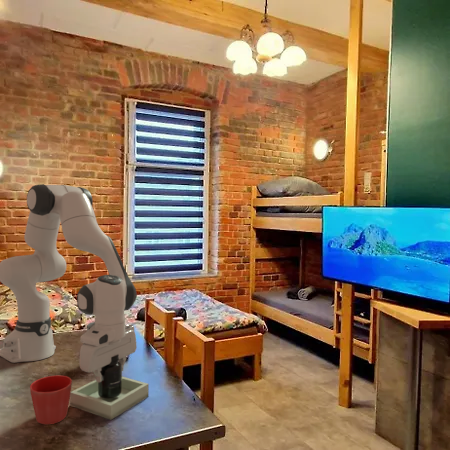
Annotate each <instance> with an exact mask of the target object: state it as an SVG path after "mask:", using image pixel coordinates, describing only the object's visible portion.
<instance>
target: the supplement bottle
mask: <svg viewBox="0 0 450 450" xmlns="http://www.w3.org/2000/svg"><path fill="white" fill-rule="evenodd" d="M100 373H101V375H104V380H103V381H102V382H98V395H99V396H100V397H102V398H107V399H108V398H115V397H117V396H119V395H120V394H121V391H122V377H123V371H122V365H121V363H120V362H119V355H115V356H113V357H111V362H110V364H108V365H106V366H104V367H102V368H101V371H100Z"/></svg>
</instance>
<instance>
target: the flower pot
mask: <svg viewBox="0 0 450 450" xmlns="http://www.w3.org/2000/svg"><path fill="white" fill-rule="evenodd" d="M72 383H73V380H72V379H71V377H69V376H67V375H56V374H55V375H49V376H44V377H42V378H38V379H36V380H35V381H33V382H32V383H31V384H30V386H29V390H30V391H29V392H30V396H31V401H32V406H33V407H32V408H33V411H34V415H35V420H36V422H37V423H38V424H42V425H45V426H46V425H54V424H57V423H59V422H61V421H63V420H64V419H65V418H66V417H67V416H68V415H67V414H68V410H69V406H70V392H72Z"/></svg>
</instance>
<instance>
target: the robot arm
mask: <svg viewBox="0 0 450 450" xmlns="http://www.w3.org/2000/svg"><path fill="white" fill-rule="evenodd" d="M93 201H94V200H93V196H92V193H91V191H89V189H87V188H85V187H81V186H73V185H67V184H66V185H65V184H44V183H41V184H40V183H39V184H36V185H32V186H31V187H30V189H29V190H28V191H27V194H26V204H27V208H28V210H29V214H28V218H27V222H26V227H25V232H24V236H23V237H24V238H23V239H24V241H25V244H26V245H27V246H29V247H30V248H32V249H33V250H34V253H32V254H25V255H15V256H11V257H8V258H5V259H2V260H1V261H0V283H1V284H3V285H4V286H6V287H7V288H9V289H10V290H11V292H12V293H13V294H14V296H15V297H14V298H15V299H16V300H15V301H16V305H17V306H16V307H17V319H16V320H14V322H13V324H15V327H14V329H13V330H12V331H10V333H9V334H8V335H6V336H5V337H4V339H3V347H2V348H0V357H1V358H3V359H4V360H7V361H8V362H10V363H12V364H14V363H15V364H16V363H22V362H33V361H40V360H41V361H42V360H45V359H47V358H49V357H51V356H53V355H54V354H55V349H56V347H57V346H56V345H55V344H54V336H53V335H54V334H53V333H54V332H53V330H52V328H51V326H52V318H51V315H50V314H51V313H50V298H49V297H48V295H47V294H45V293H43V292H41V291H38V289H37V286H36V285H37V284H39V283H44V282H49V281H55V280H58V279H59V278H61V277H63V276H64V275H65V273H66V271H67V261H66V259H65V258H64V256H63V255H62V254H60V253H59V251H58V248H57V241H58V234H59V230H60V226H61V230H62V234H63V237H64V239H65V242H66V243H67V244H68V245H69V246H71V247H72V248H74V249H77V250H78V251H83V252H86V253H90V254H93V255H95V256H97V257H98V258H100V259H101V260H102V261H103V262H104V265H105V267H106V270H107V272H108V273H109V274H105V275H100V276H98V277H97V278H96V279H95V281H94V282H90V283H87V284H84V285H82V286H81V288H79V290H78V292H77V294H76V305H77V309H78V310H79V311H80V312H82V313H83V314H84V315H87V316H95V317H94V322H95V325H94V326H92V327H91V328H90V329H89V330H88V331H87V330H86V331H85V332H84V333H83V334H82V335H81V336H80V343H82V345H81V346H80V350H79V368H80V370H81V371H82V372H86V373H93V374H94V376H95V380H96V381H97V382H102V381H103V380H104V375H101V373H100V371H101V368H102V367H104V366H106V365H108V364H110V362H111V357H113V356H115V355H119V361H118V362H120V363H121V365H122V372H124V366H125V364H126V362H127V356H130V355H132V354H134V353H135V352H136V350H137V336H136V335H137V334H136V333H135V326H134V325H133V324H132V323H128V324H126V315H125V311H129V310H130V308H132V306H134V305H135V302H136V300H137V296H138V295H137V294H138V293H137V290H136V287H135V284H134V283H133V281H132V280H131V279H130V277H129V276H128V272H127V271H126V269H125V266H124V264H123V262H122V259H121V256H120V254H119V252H118V250H117V247H116V246H115V242H113V240H112V238H111V237H110V235H107V234H106V233H105V232H104V231H103V230H102V229H101V227H100V226H99V224H98V221H97V218H96V214H95V210H94V208H93Z"/></svg>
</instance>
